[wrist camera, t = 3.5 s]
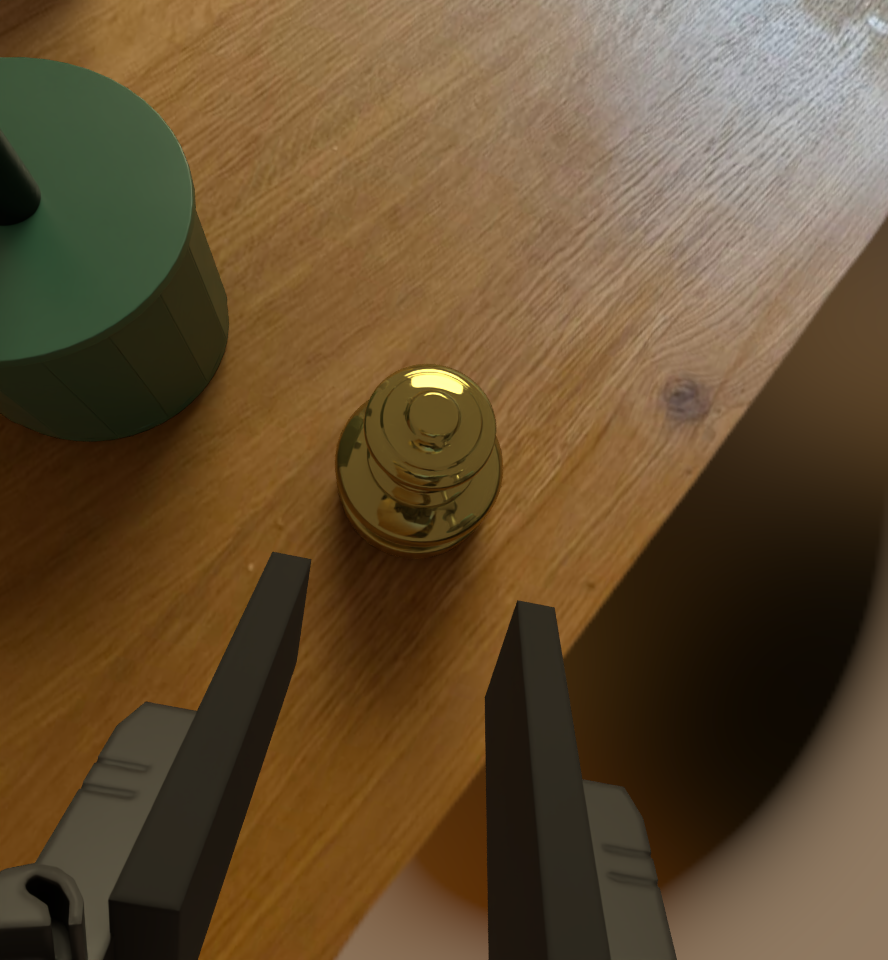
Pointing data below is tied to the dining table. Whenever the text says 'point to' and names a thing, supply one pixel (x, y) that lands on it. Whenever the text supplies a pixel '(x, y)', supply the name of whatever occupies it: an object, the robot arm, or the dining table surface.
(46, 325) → the pot lid
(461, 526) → the brass calibration weight
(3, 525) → the dining table surface
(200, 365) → the pot
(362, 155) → the dining table surface
